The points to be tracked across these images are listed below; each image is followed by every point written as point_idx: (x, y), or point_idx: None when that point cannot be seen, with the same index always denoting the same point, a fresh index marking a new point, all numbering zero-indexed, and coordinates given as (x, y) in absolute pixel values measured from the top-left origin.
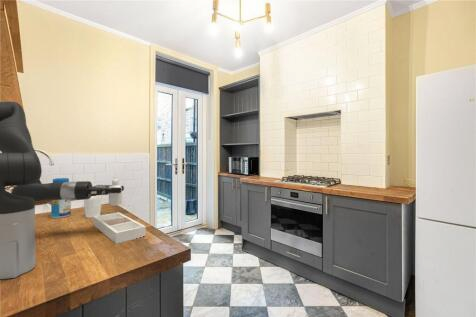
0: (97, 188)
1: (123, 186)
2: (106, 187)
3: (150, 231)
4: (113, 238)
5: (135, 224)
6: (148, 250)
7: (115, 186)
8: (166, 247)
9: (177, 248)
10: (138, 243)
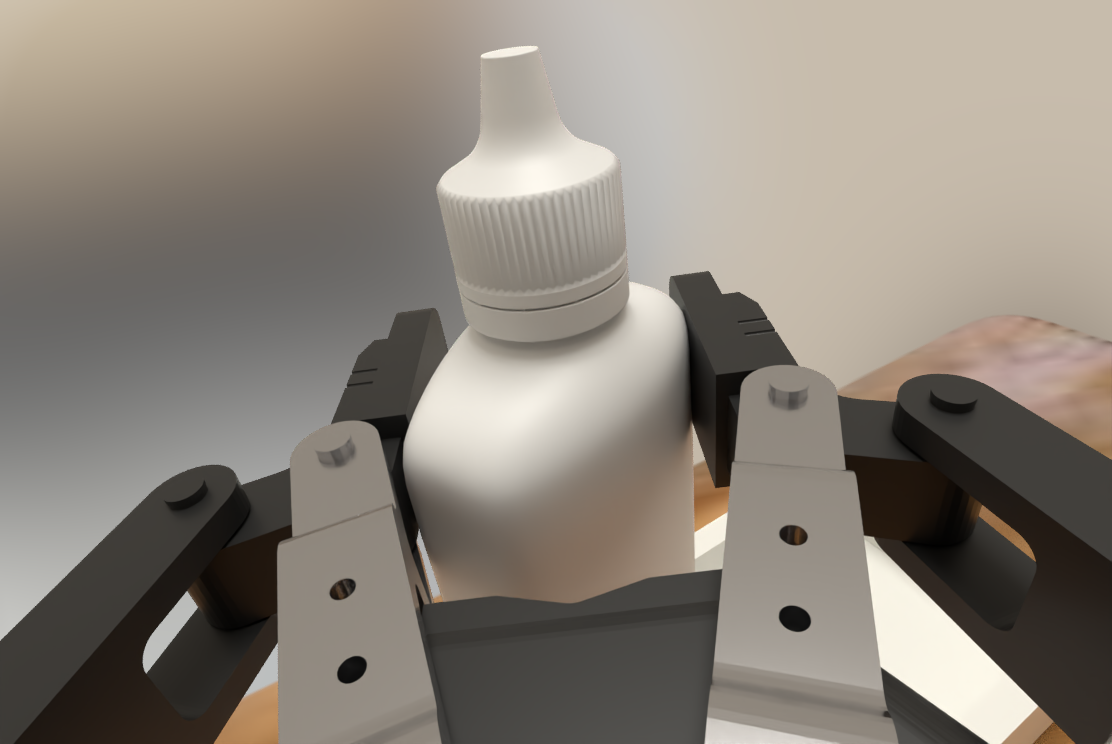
0: (948, 734)
1: (417, 314)
2: (417, 594)
3: (703, 504)
4: (1047, 720)
5: (718, 557)
6: (1104, 439)
7: (659, 309)
8: (1012, 376)
9: (1007, 338)
10: (1000, 519)
